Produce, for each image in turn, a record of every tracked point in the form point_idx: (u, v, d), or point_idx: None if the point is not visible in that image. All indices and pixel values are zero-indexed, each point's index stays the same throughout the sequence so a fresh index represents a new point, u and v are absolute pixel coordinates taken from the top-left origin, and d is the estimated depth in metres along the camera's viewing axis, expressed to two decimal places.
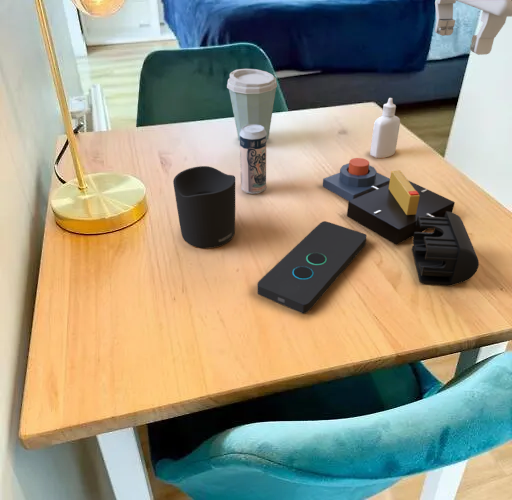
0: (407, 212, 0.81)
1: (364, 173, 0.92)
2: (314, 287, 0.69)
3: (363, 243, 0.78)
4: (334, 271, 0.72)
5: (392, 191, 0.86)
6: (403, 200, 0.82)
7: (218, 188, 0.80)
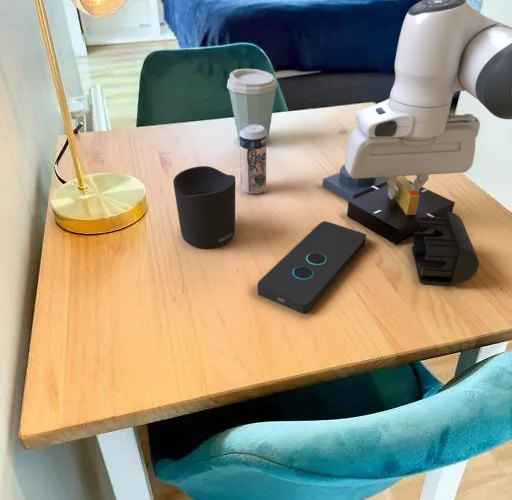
0: (407, 212, 0.81)
1: None
2: (314, 287, 0.69)
3: (363, 243, 0.78)
4: (334, 271, 0.72)
5: None
6: (403, 200, 0.82)
7: (218, 187, 0.80)
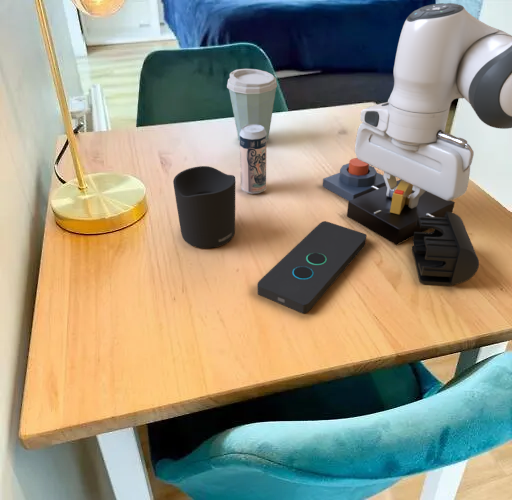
0: (390, 209, 0.82)
1: (364, 173, 0.92)
2: (314, 287, 0.69)
3: (363, 243, 0.78)
4: (334, 271, 0.72)
5: None
6: None
7: (218, 188, 0.80)
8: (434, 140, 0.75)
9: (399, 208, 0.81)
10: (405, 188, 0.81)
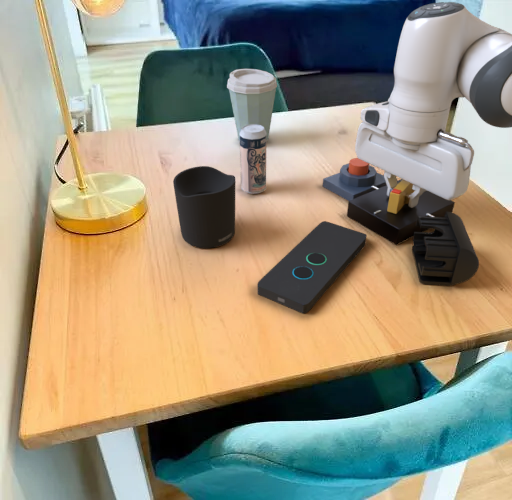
0: (388, 208, 0.82)
1: (364, 173, 0.92)
2: (314, 287, 0.69)
3: (363, 243, 0.78)
4: (334, 271, 0.72)
5: None
6: None
7: (218, 187, 0.80)
8: (434, 139, 0.74)
9: (396, 207, 0.81)
10: (404, 188, 0.81)
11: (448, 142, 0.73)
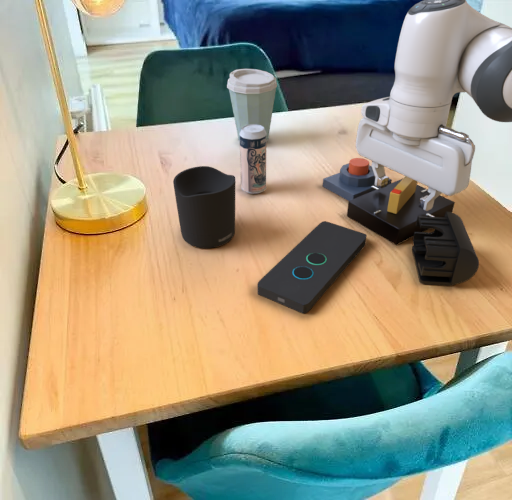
0: (388, 208, 0.82)
1: (364, 173, 0.92)
2: (314, 287, 0.69)
3: (363, 243, 0.78)
4: (334, 271, 0.72)
5: None
6: None
7: (218, 187, 0.80)
8: (435, 135, 0.74)
9: (396, 207, 0.81)
10: (404, 188, 0.81)
11: (449, 137, 0.73)
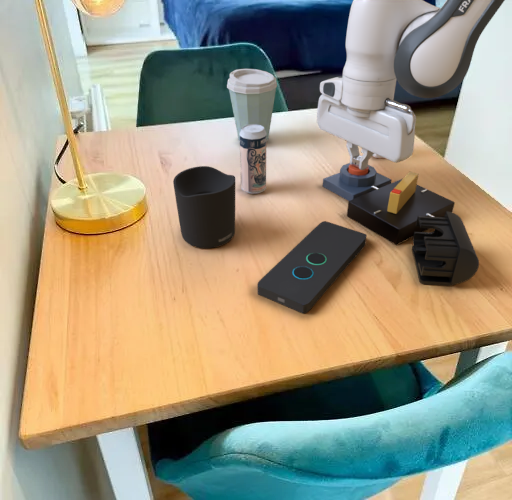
0: (388, 208, 0.82)
1: None
2: (314, 287, 0.69)
3: (363, 243, 0.78)
4: (334, 271, 0.72)
5: None
6: None
7: (218, 188, 0.80)
8: (383, 107, 0.83)
9: (396, 207, 0.81)
10: (404, 188, 0.81)
11: (394, 109, 0.81)
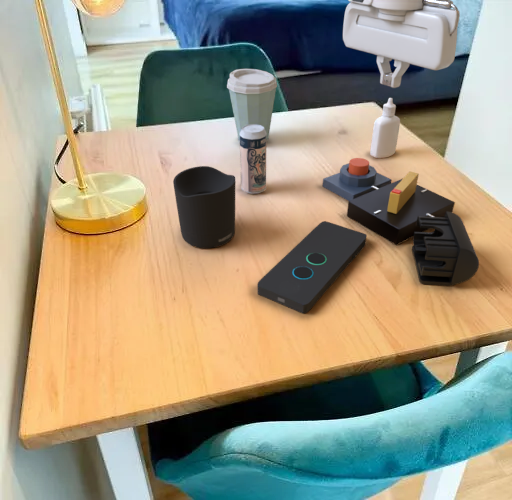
0: (388, 208, 0.82)
1: (364, 173, 0.92)
2: (314, 287, 0.69)
3: (363, 243, 0.78)
4: (334, 271, 0.72)
5: None
6: None
7: (218, 187, 0.80)
8: (420, 7, 0.74)
9: (396, 207, 0.81)
10: (404, 188, 0.81)
11: (434, 7, 0.72)
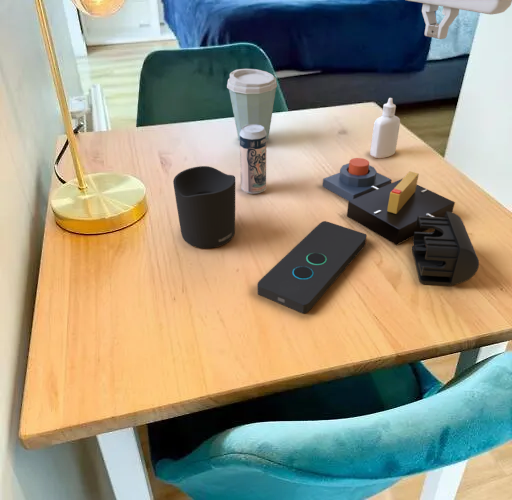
0: (388, 208, 0.82)
1: (364, 173, 0.92)
2: (314, 287, 0.69)
3: (363, 243, 0.78)
4: (334, 271, 0.72)
5: None
6: None
7: (218, 188, 0.80)
8: None
9: (396, 207, 0.81)
10: (404, 188, 0.81)
11: None
